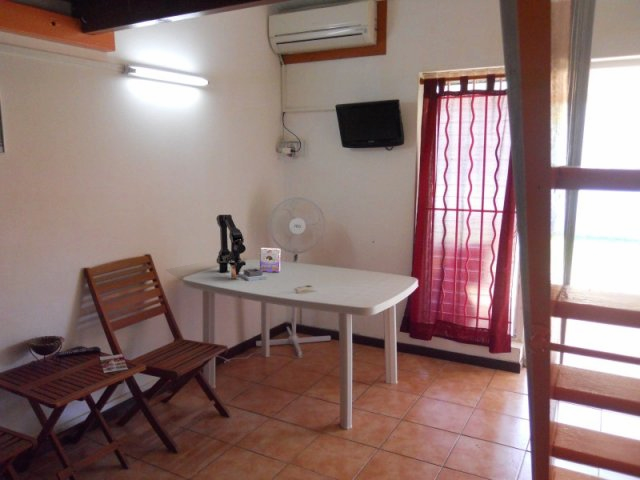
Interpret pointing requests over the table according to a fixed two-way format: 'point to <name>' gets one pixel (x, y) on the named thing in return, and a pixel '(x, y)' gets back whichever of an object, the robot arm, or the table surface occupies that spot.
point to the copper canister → (233, 272)
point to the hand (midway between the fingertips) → (235, 273)
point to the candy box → (270, 259)
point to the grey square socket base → (252, 274)
